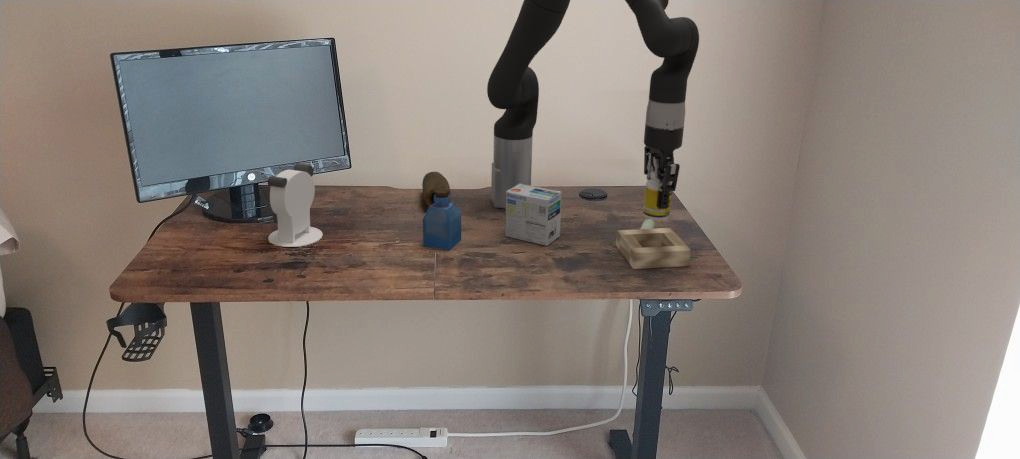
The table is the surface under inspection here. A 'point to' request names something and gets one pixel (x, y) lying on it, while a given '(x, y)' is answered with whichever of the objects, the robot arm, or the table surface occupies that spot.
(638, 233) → the socket block
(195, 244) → the table surface
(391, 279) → the table surface
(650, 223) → the lying dowel
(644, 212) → the supplement bottle
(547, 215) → the light bulb box
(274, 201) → the headphone stand
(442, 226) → the perfume bottle
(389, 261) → the table surface
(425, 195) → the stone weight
